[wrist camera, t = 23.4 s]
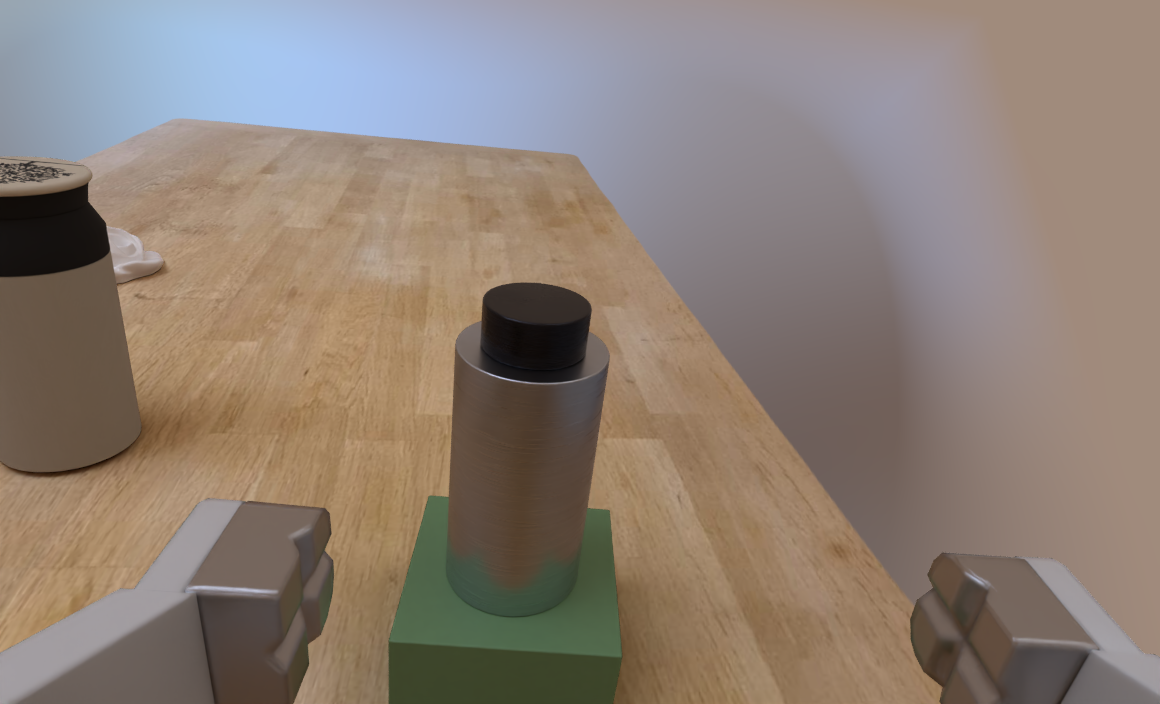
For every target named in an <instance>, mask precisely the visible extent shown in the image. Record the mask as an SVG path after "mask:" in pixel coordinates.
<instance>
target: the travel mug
mask: <svg viewBox="0 0 1160 704" xmlns="http://www.w3.org/2000/svg"><path fill="white" fill-rule="evenodd" d="M91 179H92V172H91V170H90V169H89V168H87V167H86V166H84V165H82V164H79V163H76V162H72V161H67V160H61V159H53V158H42V157H0V461H1V462H2V463H3V464H5V465H7V466H9V467H11V468H14V469H18V470H22V471H29V472H56V471H64V470H70V469H77V468H81V467H85V466H89V465H92V464H94V463H97V462H100V461H103V460H105V459H107V458H110V457H112V456H114V455H116V454H118V453H119V452H121V451H123V450H124V449H126V448H127V447H128V446H130V445H131V444H132V443H133V442H134V441H135V440H136V439H137V437H138V436H139V434H140V432H141V420H140V414H139V409H138V403H137V397H136V392H135V386H134V380H133V375H132V369H131V363H130V358H129V352H128V346H127V341H126V335H125V329H124V324H123V318H122V312H121V307H120V301H119V295H118V290H117V284H116V278H115V273H114V267H113V261H112V256H111V250H110V244H109V239H108V233H107V227H106V223H105V221H104V220H103V219H102V218H101V217H100V215H99V214H98V213H97V212H96V210H95V209H94V208H93V207H92V206H91V204H90V203H89V202H88V183H89V181H90V180H91Z"/></svg>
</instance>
